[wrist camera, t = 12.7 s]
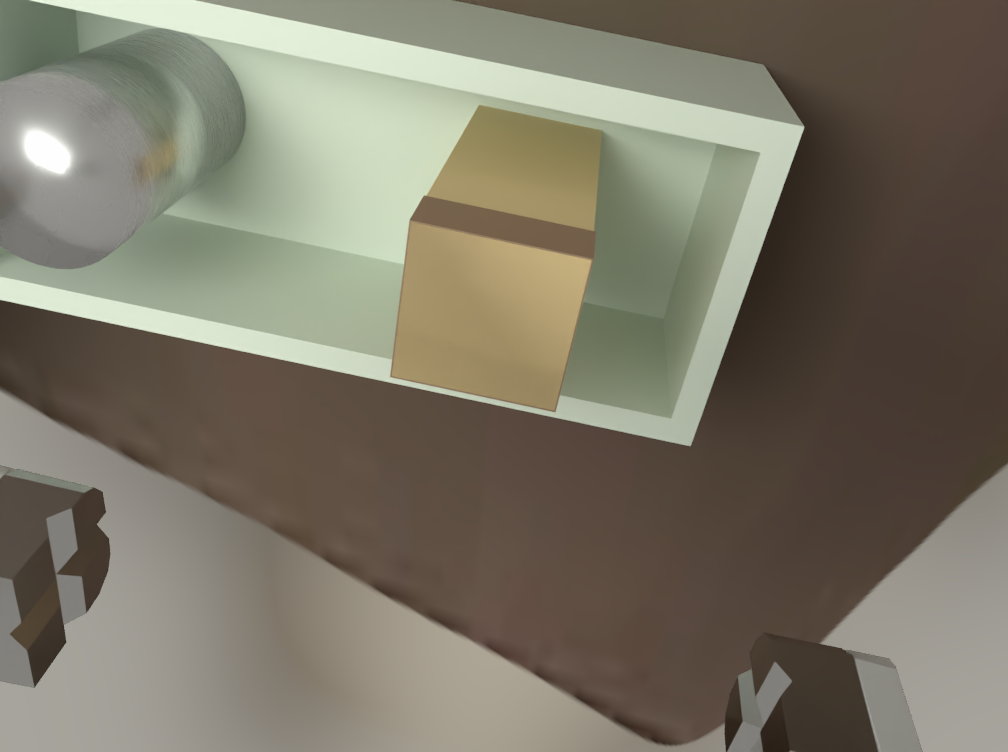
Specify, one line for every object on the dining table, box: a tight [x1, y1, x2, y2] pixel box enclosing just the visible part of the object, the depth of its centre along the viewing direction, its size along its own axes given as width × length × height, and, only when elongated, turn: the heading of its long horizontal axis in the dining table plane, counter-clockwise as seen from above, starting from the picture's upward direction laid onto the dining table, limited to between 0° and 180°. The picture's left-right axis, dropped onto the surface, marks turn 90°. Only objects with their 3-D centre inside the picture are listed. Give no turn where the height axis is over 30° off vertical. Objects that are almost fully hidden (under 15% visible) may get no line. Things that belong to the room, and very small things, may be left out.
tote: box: [0, 0, 804, 446], centre depth 33 cm, size 12×28×9 cm, turn 80°
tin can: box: [0, 28, 246, 269], centre depth 32 cm, size 6×6×10 cm
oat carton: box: [390, 105, 602, 412], centre depth 30 cm, size 5×5×13 cm
